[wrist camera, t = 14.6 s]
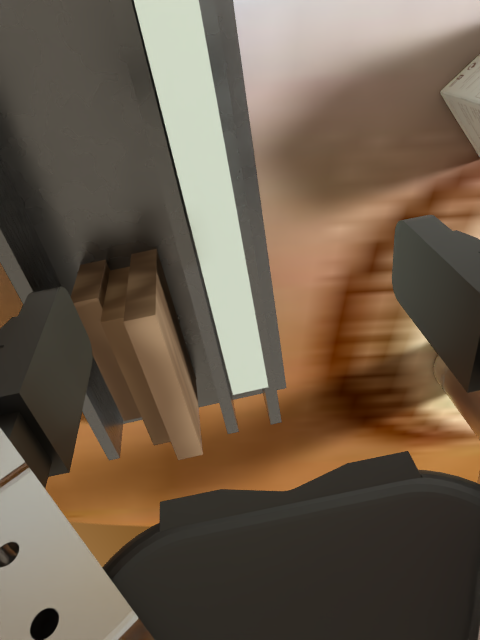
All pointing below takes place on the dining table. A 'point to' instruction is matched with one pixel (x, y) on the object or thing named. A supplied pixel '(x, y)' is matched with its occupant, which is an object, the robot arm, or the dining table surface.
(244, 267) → the tall sheet
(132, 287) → the offcut bundle
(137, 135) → the rack
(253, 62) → the dining table surface
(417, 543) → the robot arm
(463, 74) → the supplement box
